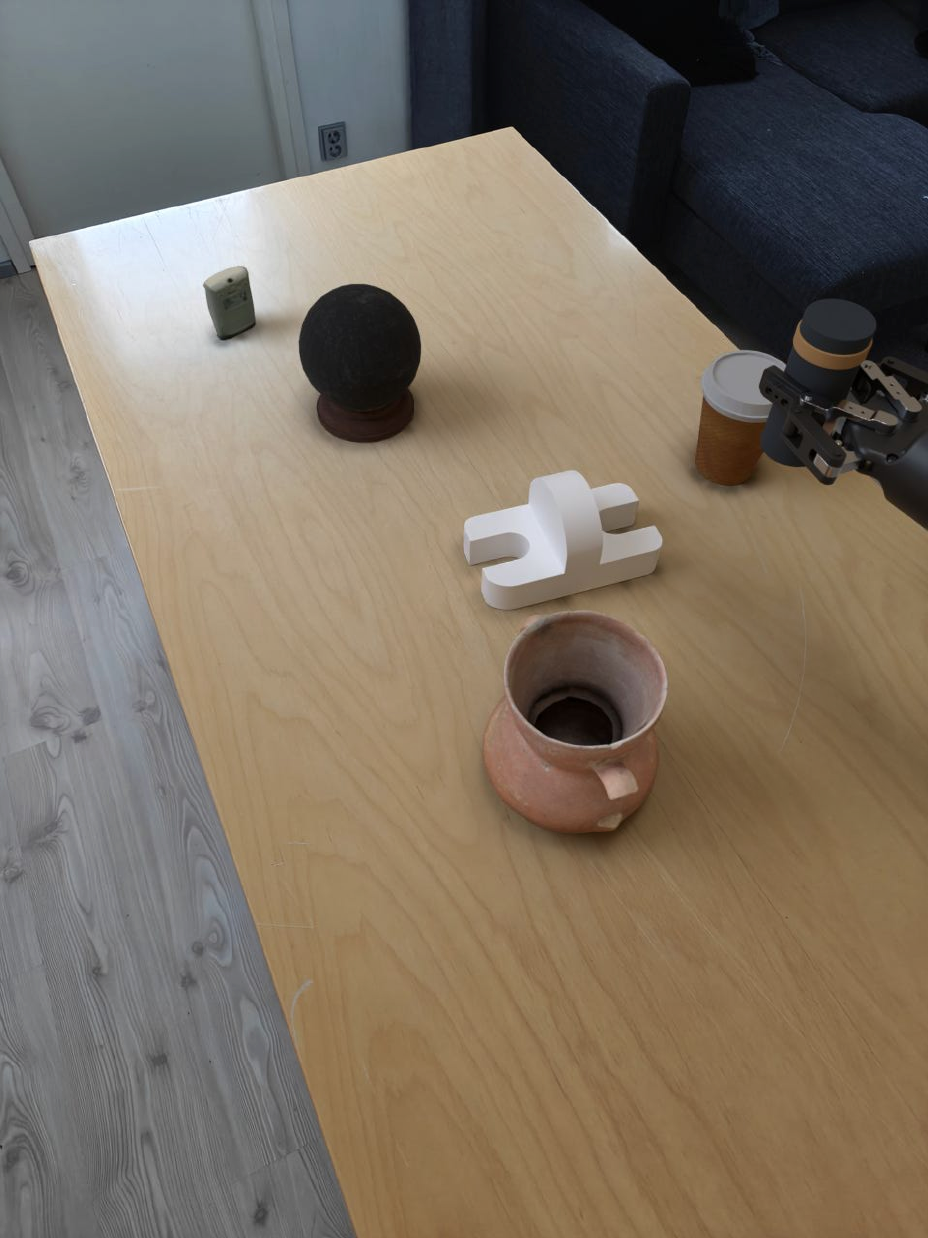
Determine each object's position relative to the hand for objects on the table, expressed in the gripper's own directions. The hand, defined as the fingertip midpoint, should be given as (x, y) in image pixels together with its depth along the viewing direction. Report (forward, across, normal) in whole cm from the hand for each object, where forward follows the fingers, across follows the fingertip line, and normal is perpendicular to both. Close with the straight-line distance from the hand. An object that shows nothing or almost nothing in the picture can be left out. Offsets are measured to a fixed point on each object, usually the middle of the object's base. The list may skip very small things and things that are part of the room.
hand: (790, 363), depth 71 cm
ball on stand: (+41, +15, +26) cm, 51 cm away
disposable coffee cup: (+11, -12, +26) cm, 31 cm away
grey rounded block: (+63, +21, +26) cm, 71 cm away
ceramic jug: (-8, +25, +26) cm, 37 cm away
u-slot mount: (+11, +11, +26) cm, 30 cm away
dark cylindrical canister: (-3, 0, +6) cm, 7 cm away
